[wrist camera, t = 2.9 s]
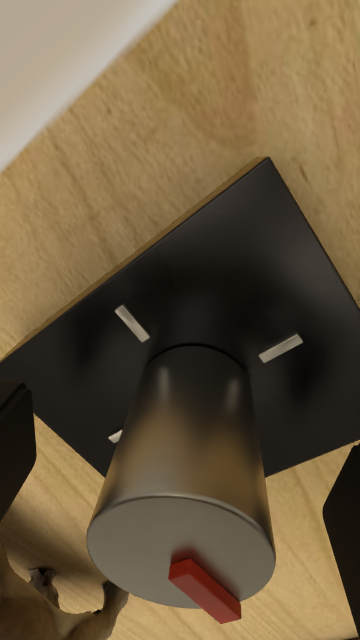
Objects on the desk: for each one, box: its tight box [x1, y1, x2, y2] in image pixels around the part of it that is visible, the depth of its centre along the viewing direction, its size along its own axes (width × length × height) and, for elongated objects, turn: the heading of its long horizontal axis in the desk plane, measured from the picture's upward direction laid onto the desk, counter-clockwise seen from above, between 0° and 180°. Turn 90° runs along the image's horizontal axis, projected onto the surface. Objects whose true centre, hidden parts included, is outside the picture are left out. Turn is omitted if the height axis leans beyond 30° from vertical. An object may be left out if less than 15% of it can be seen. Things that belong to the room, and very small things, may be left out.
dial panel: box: [0, 157, 360, 478], centre depth 13 cm, size 12×10×3 cm
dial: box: [87, 346, 276, 624], centre depth 9 cm, size 4×4×6 cm
